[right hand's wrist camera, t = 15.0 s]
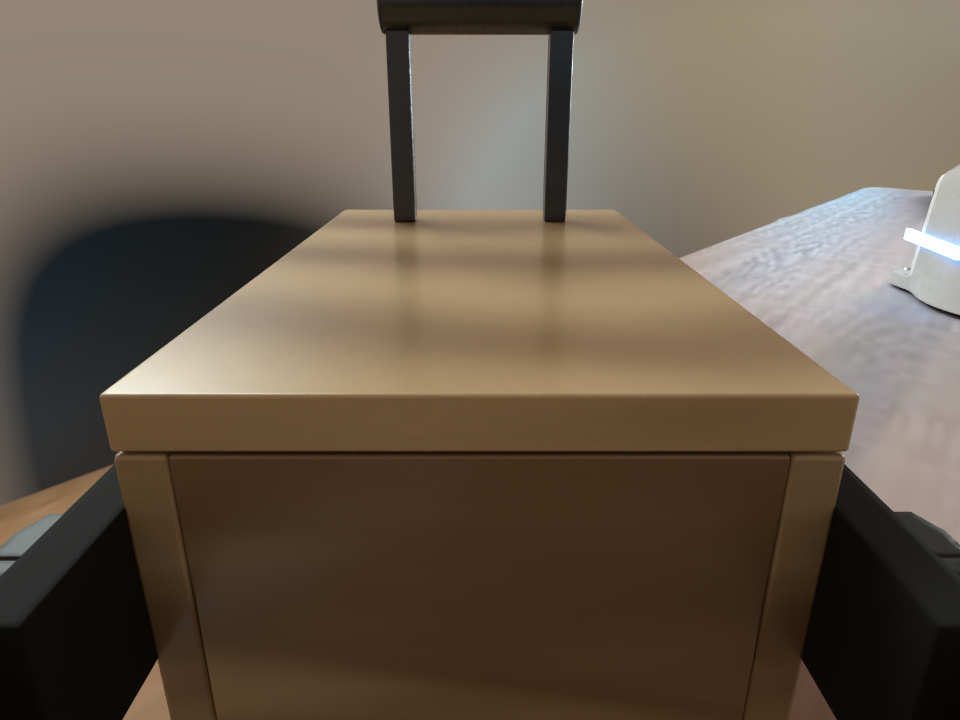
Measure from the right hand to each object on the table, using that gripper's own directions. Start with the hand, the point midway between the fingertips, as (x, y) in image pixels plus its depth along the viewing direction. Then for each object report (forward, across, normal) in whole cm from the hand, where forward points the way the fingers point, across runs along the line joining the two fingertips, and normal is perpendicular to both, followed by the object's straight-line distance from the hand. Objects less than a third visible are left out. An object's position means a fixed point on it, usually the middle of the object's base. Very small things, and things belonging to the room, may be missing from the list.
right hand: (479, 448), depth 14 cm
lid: (+4, 0, -2) cm, 5 cm away
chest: (+4, 0, +6) cm, 7 cm away
